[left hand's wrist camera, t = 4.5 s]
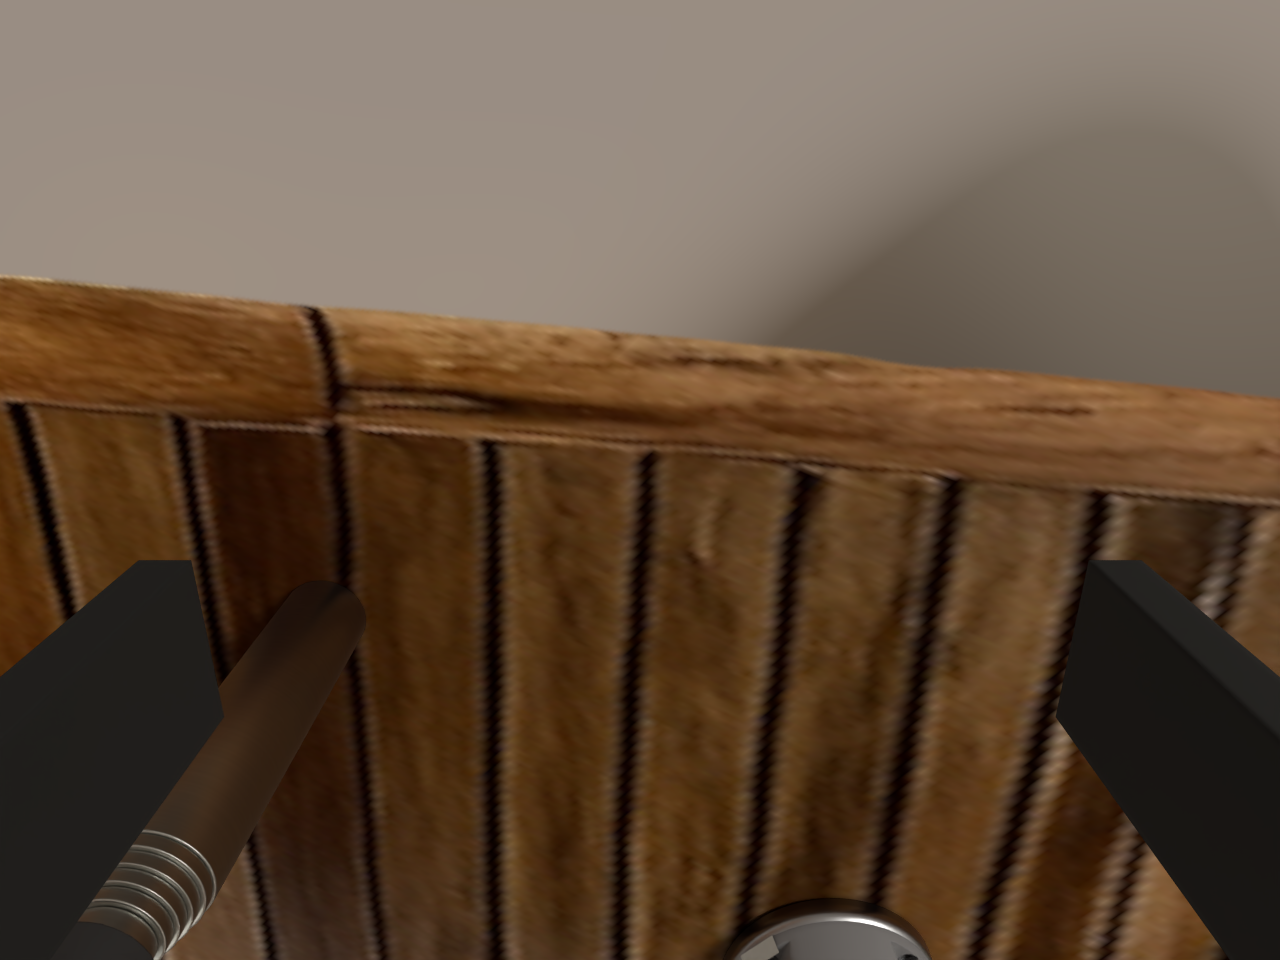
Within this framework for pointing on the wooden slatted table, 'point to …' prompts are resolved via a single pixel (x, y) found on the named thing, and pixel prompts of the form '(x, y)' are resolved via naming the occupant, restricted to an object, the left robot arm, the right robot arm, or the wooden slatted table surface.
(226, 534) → the wooden slatted table surface
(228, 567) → the wooden slatted table surface
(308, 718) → the bottle
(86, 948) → the cap
